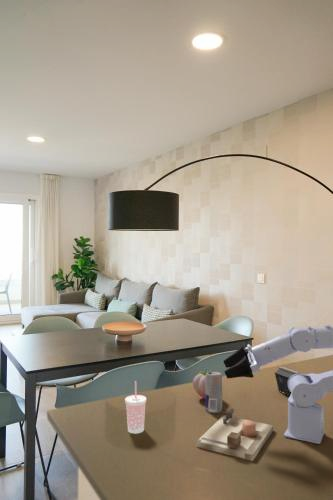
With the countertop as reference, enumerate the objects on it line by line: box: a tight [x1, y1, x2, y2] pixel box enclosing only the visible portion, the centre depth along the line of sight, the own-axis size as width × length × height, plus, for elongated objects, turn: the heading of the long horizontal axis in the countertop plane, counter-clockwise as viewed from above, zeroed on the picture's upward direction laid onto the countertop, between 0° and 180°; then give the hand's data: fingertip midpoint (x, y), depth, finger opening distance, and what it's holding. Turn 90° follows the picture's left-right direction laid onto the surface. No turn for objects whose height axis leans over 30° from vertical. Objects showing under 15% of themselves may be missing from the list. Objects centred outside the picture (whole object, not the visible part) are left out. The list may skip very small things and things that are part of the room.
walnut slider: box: [227, 432, 242, 449], centre depth 105 cm, size 2×3×2 cm
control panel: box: [196, 414, 274, 462], centre depth 112 cm, size 15×19×3 cm
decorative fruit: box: [192, 369, 207, 400], centre depth 141 cm, size 9×8×10 cm
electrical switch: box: [274, 366, 300, 396], centre depth 145 cm, size 9×5×9 cm, turn 30°
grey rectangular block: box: [225, 408, 235, 420], centre depth 120 cm, size 1×3×3 cm, turn 151°
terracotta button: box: [241, 420, 257, 438], centre depth 112 cm, size 4×4×3 cm
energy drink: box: [204, 370, 223, 414], centre depth 132 cm, size 5×5×12 cm
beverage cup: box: [124, 380, 147, 434], centre depth 117 cm, size 6×6×14 cm
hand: (225, 369), depth 117 cm, fingers open, 7 cm apart
